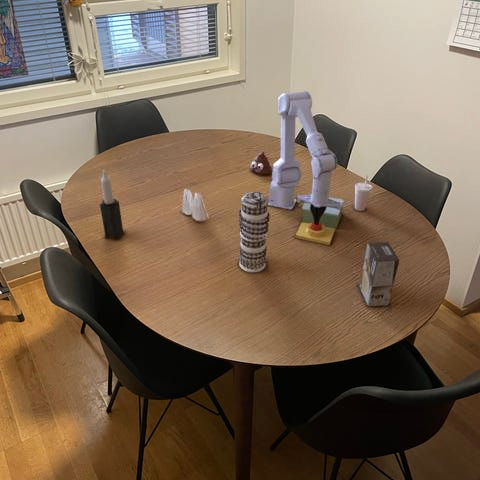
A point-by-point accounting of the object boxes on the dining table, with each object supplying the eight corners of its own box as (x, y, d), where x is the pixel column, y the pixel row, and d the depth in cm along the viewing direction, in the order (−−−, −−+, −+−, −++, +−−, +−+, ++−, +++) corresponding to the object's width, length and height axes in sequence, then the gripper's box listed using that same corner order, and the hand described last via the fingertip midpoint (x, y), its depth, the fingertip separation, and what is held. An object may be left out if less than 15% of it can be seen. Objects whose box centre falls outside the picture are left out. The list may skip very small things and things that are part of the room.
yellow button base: (295, 237, 161) (296, 230, 159) (301, 224, 168) (302, 217, 166) (329, 245, 157) (330, 238, 155) (334, 231, 164) (335, 224, 163)
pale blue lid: (301, 209, 166) (301, 207, 166) (309, 195, 175) (309, 193, 175) (338, 216, 163) (338, 214, 162) (343, 201, 172) (343, 199, 171)
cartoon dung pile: (275, 170, 204) (276, 150, 199) (265, 177, 198) (266, 157, 193) (255, 165, 208) (256, 145, 203) (245, 172, 202) (246, 152, 197)
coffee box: (389, 305, 132) (400, 261, 124) (367, 306, 132) (377, 261, 123) (378, 284, 140) (388, 241, 131) (358, 285, 140) (366, 242, 131)
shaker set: (209, 221, 168) (208, 195, 162) (200, 225, 166) (199, 199, 160) (190, 208, 176) (189, 182, 170) (181, 212, 174) (179, 186, 168)
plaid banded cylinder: (257, 276, 142) (261, 207, 129) (232, 266, 146) (233, 198, 133) (272, 261, 149) (276, 193, 135) (247, 252, 153) (249, 185, 139)
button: (309, 230, 160) (310, 225, 159) (312, 224, 163) (312, 220, 162) (320, 232, 159) (320, 227, 158) (322, 226, 162) (322, 222, 161)
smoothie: (368, 213, 175) (374, 180, 167) (351, 211, 176) (356, 178, 168) (367, 205, 180) (374, 172, 172) (351, 203, 181) (356, 171, 173)
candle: (124, 232, 162) (115, 167, 148) (116, 240, 158) (106, 174, 144) (112, 229, 163) (101, 165, 150) (104, 237, 159) (92, 171, 145)
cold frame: (302, 222, 169) (303, 209, 166) (309, 207, 178) (310, 195, 175) (336, 229, 166) (338, 216, 163) (341, 213, 175) (343, 201, 172)
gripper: (296, 189, 151) (293, 224, 159) (340, 198, 147) (335, 233, 154) (301, 180, 157) (298, 214, 164) (344, 188, 153) (339, 222, 160)
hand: (316, 223), depth 160 cm, fingers closed
